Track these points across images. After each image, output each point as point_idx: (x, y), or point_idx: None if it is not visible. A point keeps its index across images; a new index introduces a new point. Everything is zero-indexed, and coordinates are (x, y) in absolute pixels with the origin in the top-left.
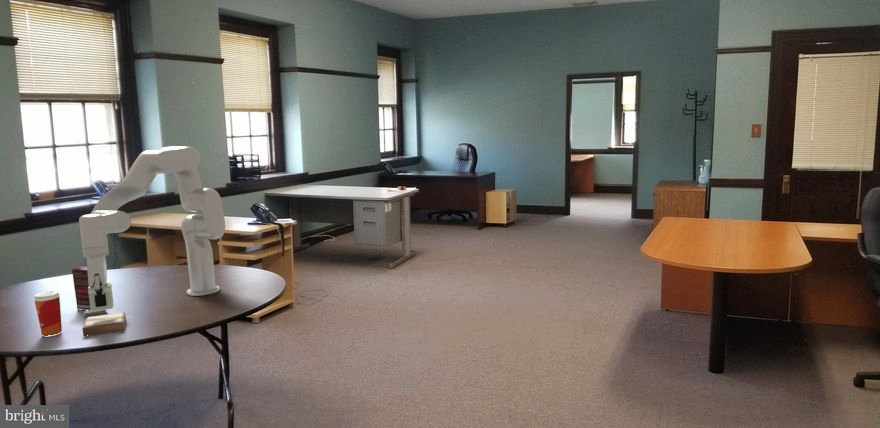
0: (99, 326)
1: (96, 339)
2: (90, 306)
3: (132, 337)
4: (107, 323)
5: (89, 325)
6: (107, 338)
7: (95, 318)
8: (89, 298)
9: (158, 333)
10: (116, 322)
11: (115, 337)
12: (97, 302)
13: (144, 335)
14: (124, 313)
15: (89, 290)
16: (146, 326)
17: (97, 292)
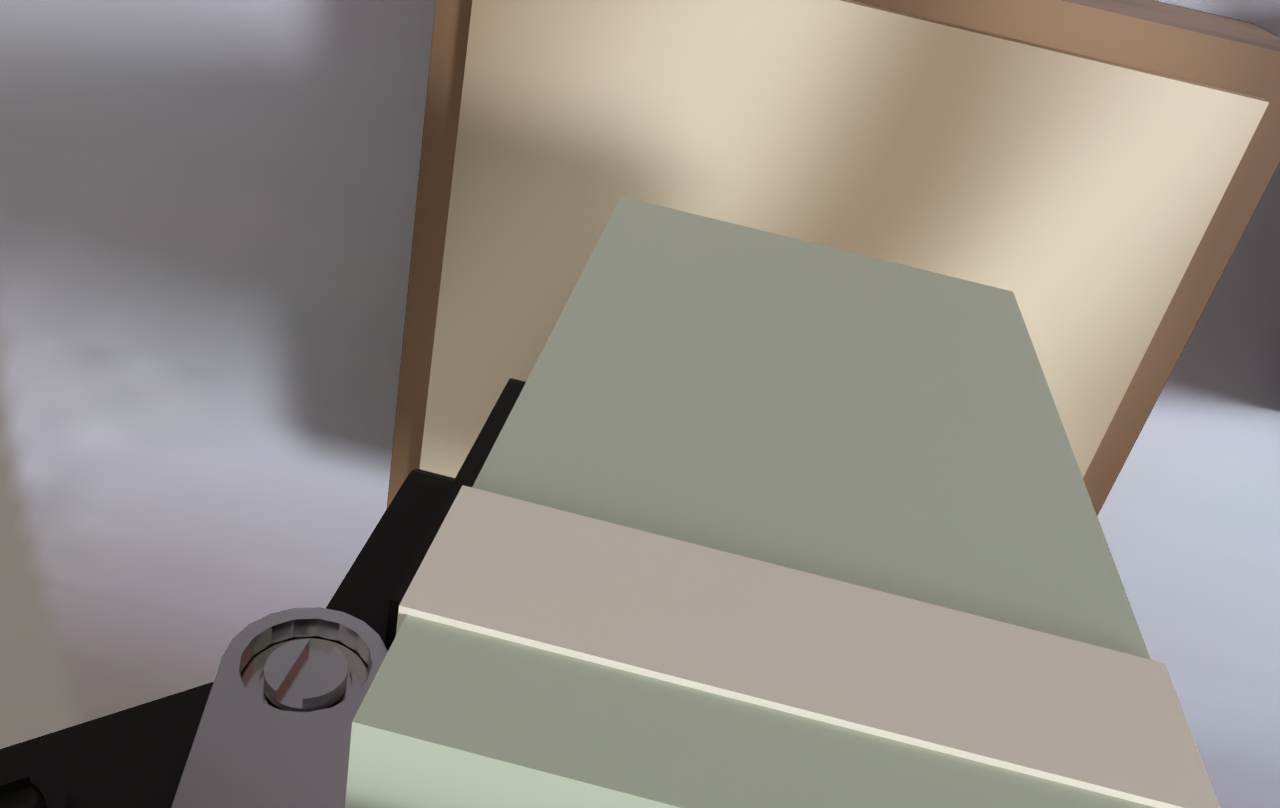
0: (423, 192)
1: (213, 41)
2: (590, 257)
3: (58, 468)
4: (437, 341)
5: (491, 26)
6: (177, 198)
7: (977, 223)
8: (528, 387)
9: (78, 702)
10: (421, 467)
11: (168, 301)
12: None
13: (74, 585)
14: None
15: (390, 650)
16: None
17: (93, 775)
